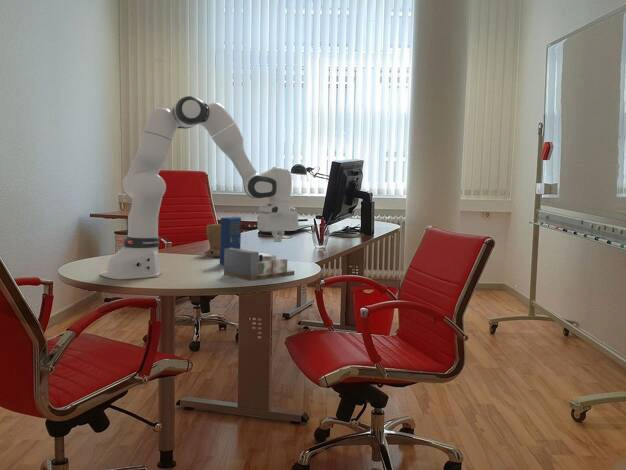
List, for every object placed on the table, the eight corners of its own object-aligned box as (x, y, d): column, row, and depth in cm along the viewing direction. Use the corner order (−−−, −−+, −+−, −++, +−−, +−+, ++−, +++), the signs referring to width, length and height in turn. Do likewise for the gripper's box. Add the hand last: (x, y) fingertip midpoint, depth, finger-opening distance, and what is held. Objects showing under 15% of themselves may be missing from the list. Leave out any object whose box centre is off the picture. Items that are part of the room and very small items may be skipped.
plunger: (269, 273, 250) (270, 257, 250) (249, 268, 258) (249, 253, 257) (280, 271, 255) (281, 255, 254) (259, 267, 262) (260, 252, 262)
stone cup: (213, 252, 313) (213, 221, 311) (235, 254, 309) (236, 223, 307) (197, 256, 298) (198, 223, 297) (220, 258, 294) (221, 225, 293)
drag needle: (261, 261, 246) (261, 255, 246) (259, 261, 247) (259, 254, 246) (262, 261, 246) (262, 255, 246) (260, 260, 247) (260, 254, 247)
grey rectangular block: (250, 277, 242) (251, 253, 241) (223, 271, 252) (224, 248, 251) (258, 275, 245) (258, 252, 244) (231, 270, 255) (232, 247, 254)
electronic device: (228, 265, 276) (229, 218, 273) (218, 264, 278) (219, 217, 276) (241, 263, 284) (242, 217, 282) (231, 261, 286) (232, 216, 284)
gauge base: (250, 280, 242) (250, 263, 241) (223, 275, 252) (224, 258, 251) (294, 274, 260) (294, 258, 259) (268, 269, 270) (268, 253, 269)
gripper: (291, 207, 271) (289, 240, 272) (255, 207, 255) (253, 242, 257) (302, 208, 266) (300, 241, 268) (266, 208, 251) (265, 244, 252)
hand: (277, 242), depth 262 cm, fingers closed
